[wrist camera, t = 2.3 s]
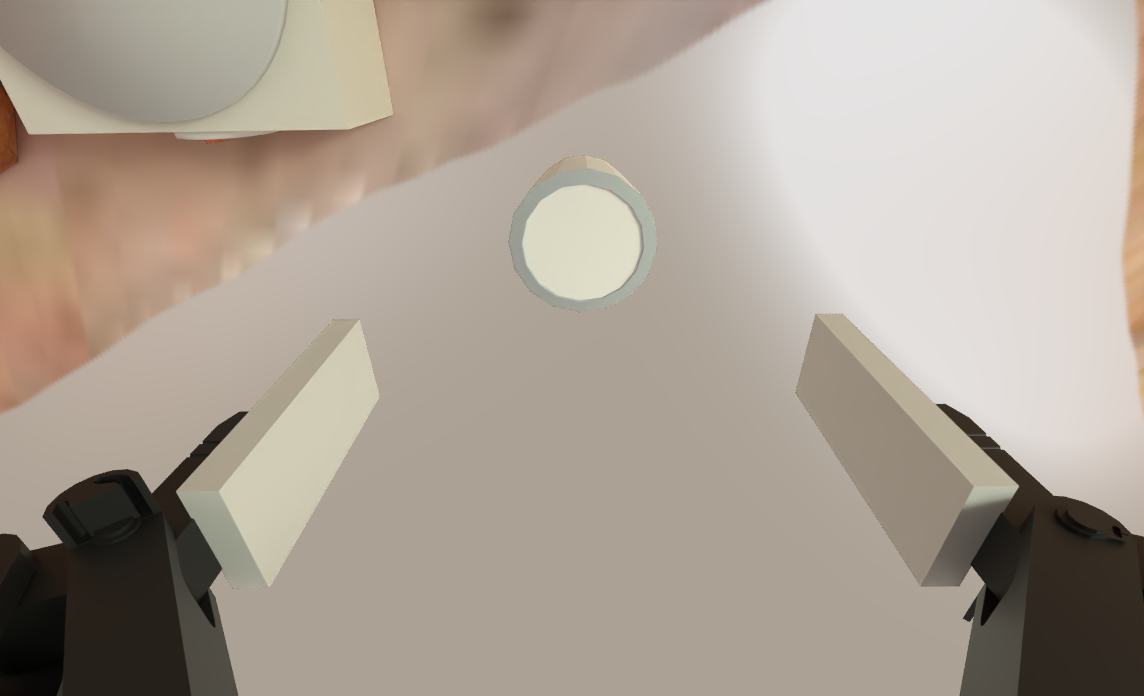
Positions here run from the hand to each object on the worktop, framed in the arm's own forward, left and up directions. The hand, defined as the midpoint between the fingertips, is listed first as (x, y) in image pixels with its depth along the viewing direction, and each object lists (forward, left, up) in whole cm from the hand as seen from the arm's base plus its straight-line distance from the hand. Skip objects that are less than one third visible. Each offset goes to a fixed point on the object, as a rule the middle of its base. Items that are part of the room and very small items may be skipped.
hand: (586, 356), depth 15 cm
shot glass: (0, 0, -17) cm, 17 cm away
